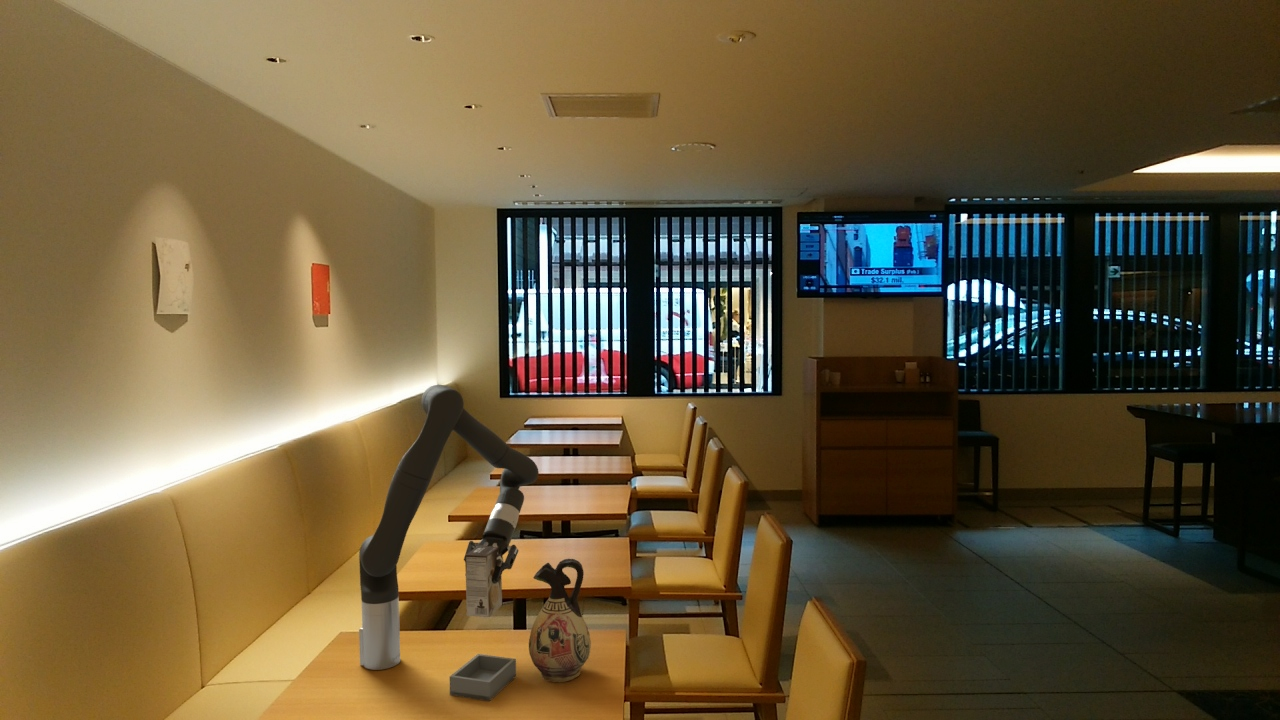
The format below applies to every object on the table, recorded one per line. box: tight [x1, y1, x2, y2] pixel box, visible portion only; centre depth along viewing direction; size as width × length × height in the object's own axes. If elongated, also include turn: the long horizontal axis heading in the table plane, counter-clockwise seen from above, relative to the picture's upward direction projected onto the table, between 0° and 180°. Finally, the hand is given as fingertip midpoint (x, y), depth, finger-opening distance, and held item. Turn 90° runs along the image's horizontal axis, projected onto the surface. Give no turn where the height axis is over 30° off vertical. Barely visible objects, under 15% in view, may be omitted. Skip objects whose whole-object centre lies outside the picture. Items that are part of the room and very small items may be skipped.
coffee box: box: [464, 545, 503, 618], centre depth 211 cm, size 9×6×16 cm
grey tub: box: [449, 653, 517, 702], centre depth 199 cm, size 11×14×4 cm
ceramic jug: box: [528, 558, 592, 683], centre depth 204 cm, size 17×15×30 cm
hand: (481, 580), depth 210 cm, fingers closed on coffee box, 6 cm apart
